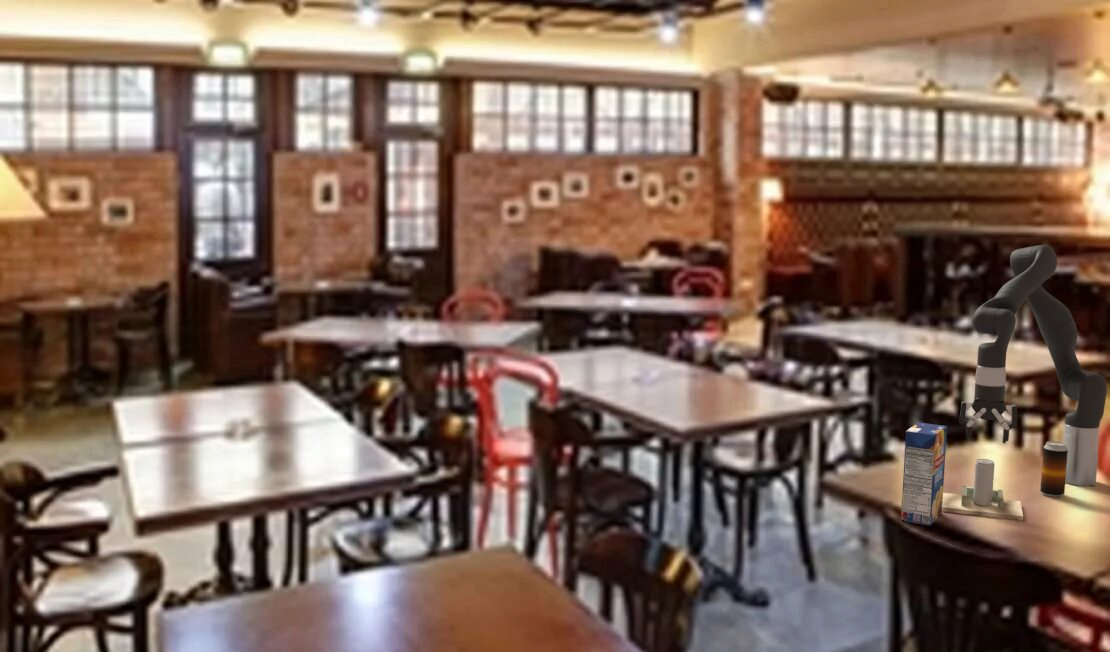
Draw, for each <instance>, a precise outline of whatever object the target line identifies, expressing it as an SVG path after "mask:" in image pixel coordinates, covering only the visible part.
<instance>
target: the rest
mask: <svg viewBox="0 0 1110 652" xmlns="http://www.w3.org/2000/svg"><path fill="white" fill-rule="evenodd" d="M973 492H974V486H965V485H962V486H961V494H959V493H951V492H950V493H948V492H943V501H942V513H943V512H945V513H953V514H961V515H969V514H970V515H971V516H978V515H980V516H979V517H986V516H989V517H988V518H995V517H998V518H997V519H1004V518H1007V519H1006V520H1013V519H1018V520H1017V521H1022V520H1023V521H1024V515H1023V507H1022V501H1021V500H1014V499H1007V498H1006V499H1004V491H1003V490H1002V489H995V488H993V495H992V504H991V505H990V506H979V505H976V504H975V503H974V502H973Z"/></svg>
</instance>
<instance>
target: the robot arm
mask: <svg viewBox="0 0 1110 652" xmlns="http://www.w3.org/2000/svg"><path fill="white" fill-rule="evenodd" d="M1009 259H1010V260H1009V263H1010V268H1011V270H1012V273H1013V276H1014V277H1013V278H1012V279H1010V280H1009V281H1007V282H1006V283H1004V284H1003V285H1002V287H1000V289H999V290H998V291H997V293H996V294H995V295H994V297H993V298H991V299H989V300H988V301H986V302H984V303H983V304H982V305H980V306H979V307H977V309H976V310H975V312H974V313H973V315H972V318H971V319H972V320H971V324H972V327H973V329H974V330H975V331H976V332H977V333H978V334H983V335H992V336H993V335H994V336H997V338H996V340H995V341H992V342H991V341H990V342H984V343H980V344H979V345H978V348H977V360H976V361H977V363H976V370H975V376H974V377H975V378H974V381H975V382H974V395H973V401H972V402H966V401H965V400H963V401H961V406H960V414H959V424H960V425H963V426H965V427H966V430H965V438H966V439H968V441H969V442H972V436H973V435H972V434H973V425H974V423H976V422H978V420H979V419H981V420H983V421H985V420H990V421H996V420H998V422H999V423H1000V425H1002V427H1003V430H1002V444H1006V442H1009V439H1010V438H1009V437H1010V430H1011V429H1016V428H1017V427H1018V407H1017V405H1016V404H1015V403H1013V404H1011V405H1006V403H1005V402H1006V401H1005V400H1006V399H1005V397H1006V383H1007V371H1006V370H1007V369H1006V368H1007V367H1006V366H1007V365H1006V364H1007V351H1008V348H1009V344H1010V341H1011V337H1012V336H1013V332H1014V331H1015V327H1016V323H1017V320H1016V318H1017V317H1016V314H1017V313H1018V312H1019V310H1020V309H1021V307H1022V306H1023V304H1024V303H1025V301H1026V300H1027V303H1028V304H1029V306H1030V309H1031V310H1032V313H1033V317H1034V318H1035V321H1036V323H1037V327H1038V328H1039V330H1040V333H1041V336H1042V338H1043V340H1044V343H1045V345H1046V346H1047V350H1048V352H1049V354H1050V356H1051V359H1052V362H1053V365H1054V367H1055V370H1056V374H1057V378H1058V382H1059V386H1060V388H1061V390H1062V393H1063V394H1064V395H1065V396H1066V397H1067V398H1068V399H1070V400H1073V401H1076V402H1077V405H1076V410H1075V411H1071V412H1068V413H1066V414H1065V416H1064V424H1063V425H1064V426H1063V437H1062V438H1063V441H1062V443H1065V444H1066V447H1067V449H1068V455H1067V467H1066V480H1065V484H1069V485H1074V486H1087V487H1088V486H1095V487H1096V485H1097V473H1098V462H1099V453H1098V449H1099V448H1098V446H1099V438H1100V437H1099V436H1100V435H1099V433H1100V424H1101V421H1102V419H1103V416H1104V413H1105V406H1106V400H1107V390H1108V389H1107V388H1108V387H1107V386H1108V385H1107V382H1106V379H1105V378H1104V376H1103V375H1101V374H1100V373H1096V372H1094V371H1093V372H1092V371H1088V370H1085V369H1084V368H1082V366H1081V364H1080V361H1079V359H1078V358H1077V355H1076V346H1077V342H1078V335H1079V333H1078V332H1079V331H1078V328H1077V325H1076V322H1075V320H1074V317H1073V315H1072V313H1071V311H1070V309H1069V308H1068V307H1067V306H1066V305H1065V304H1064V303H1062V302H1061V301H1060V300H1059V299H1057V298H1056V297H1054V296H1053V295H1051V294H1050V293H1049V292H1048V291H1047V290H1046V289H1045V288H1044V287H1043V286H1042V284H1043V283H1045V282H1046V281H1047V280H1048V279H1050V278H1051V276H1053V275H1054V273H1055V272H1056V269H1057V266H1058V256H1057V254H1056V252H1055V250H1054V249H1053V248H1052V247H1051V246H1050V245H1047V244H1040V245H1039V244H1038V245H1033V246H1028V247H1022V248H1017V249H1014V250H1013V251H1012V252H1011V254H1010V257H1009ZM970 408H972V410H973V411H974V413H973V414H972V415H971V417H970V418H969V419H968V420H967V419H966V413H967V412H966V411H969V410H970ZM1006 410H1007V411H1008V413H1009V414H1010V415H1011V422H1009V423H1008V421H1007V420H1006V419H1005V417H1004V416H1003V413H1005V411H1006Z"/></svg>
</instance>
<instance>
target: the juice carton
mask: <svg viewBox="0 0 1110 652" xmlns="http://www.w3.org/2000/svg"><path fill="white" fill-rule="evenodd" d="M947 433H948V426H947V425H940V424H932V423H925V422H917V423H916V424H914V425H913V426H911V427H910V428H908V429H907V430H906V431H905V443H904V460H903V476H902V478H903V479H902V493H901V494H902V497H901V508H900V510H901V513H900V520H901V519H902V520H904V521H903V522H908V523H914V524H918V525H919V524H920V525H923V526H931V525H933V524H934V522H935V521H937V519H938V518H940V516H942V513H943V512H942V502H943V493H944V482H945V467H946V466H945V465H946V453H947V452H946V451H947V449H946V448H947V435H948V434H947ZM902 520H901V521H902Z"/></svg>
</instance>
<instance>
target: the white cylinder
mask: <svg viewBox="0 0 1110 652" xmlns="http://www.w3.org/2000/svg"><path fill="white" fill-rule="evenodd" d="M974 464H975V466H974V478H973V479H974V480H973V487H974V492H973V502H974V503H975V504H976V505H979V506H990V505H991V504H992V495H993V489H994V481H995V480H994V477H995V461H994V460H992V459H988V458H978V459H976V460H975V462H974Z"/></svg>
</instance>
